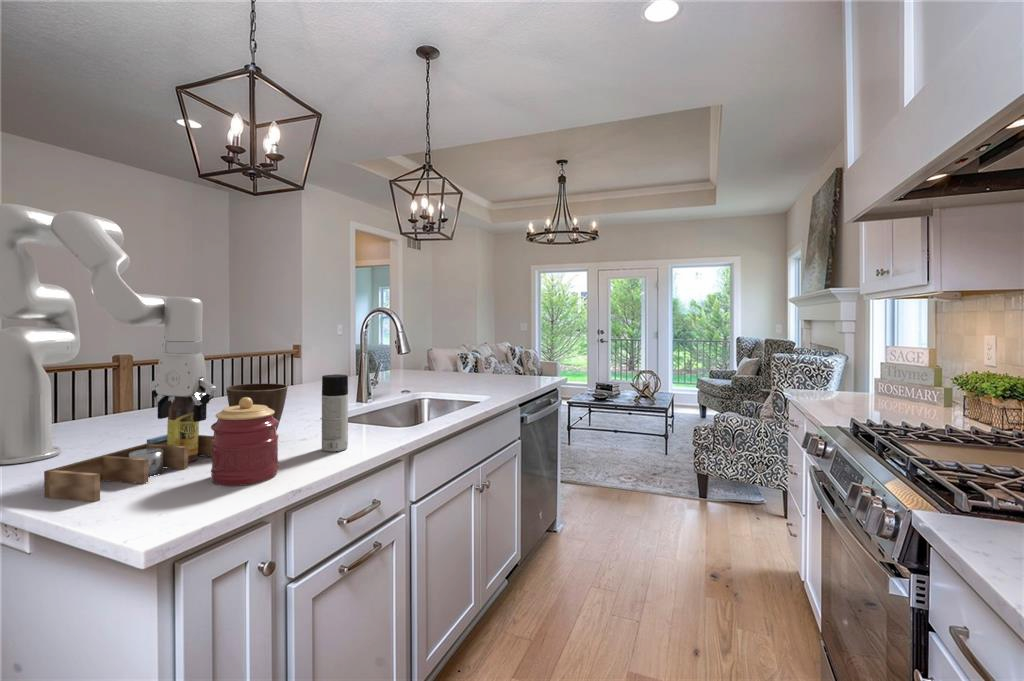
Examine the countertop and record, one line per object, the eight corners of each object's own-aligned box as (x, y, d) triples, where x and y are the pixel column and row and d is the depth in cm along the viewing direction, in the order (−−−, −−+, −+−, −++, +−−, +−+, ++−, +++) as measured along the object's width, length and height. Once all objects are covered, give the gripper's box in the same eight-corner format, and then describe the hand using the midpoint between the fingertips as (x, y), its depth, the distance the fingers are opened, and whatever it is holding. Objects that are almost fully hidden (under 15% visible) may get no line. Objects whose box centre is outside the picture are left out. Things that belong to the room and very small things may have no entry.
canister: (216, 471, 108) (216, 394, 107) (280, 465, 113) (280, 392, 112) (205, 490, 96) (205, 403, 95) (276, 483, 101) (277, 400, 100)
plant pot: (284, 435, 142) (284, 382, 141) (290, 447, 129) (290, 388, 128) (226, 440, 134) (226, 384, 133) (226, 454, 121) (226, 391, 120)
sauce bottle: (182, 466, 111) (181, 381, 110) (160, 463, 112) (159, 380, 111) (205, 458, 117) (205, 378, 116) (184, 456, 118) (183, 377, 117)
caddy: (43, 497, 90) (43, 467, 90) (180, 453, 121) (180, 430, 121) (94, 501, 88) (94, 471, 88) (220, 456, 119) (220, 433, 119)
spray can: (353, 448, 129) (353, 375, 128) (331, 454, 123) (332, 377, 122) (337, 444, 132) (337, 373, 132) (315, 449, 127) (316, 375, 126)
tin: (121, 477, 102) (121, 454, 102) (147, 469, 108) (146, 447, 108) (145, 479, 101) (145, 456, 101) (170, 471, 107) (169, 449, 107)
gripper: (137, 347, 111) (136, 419, 112) (202, 351, 108) (201, 425, 109) (165, 346, 118) (164, 413, 119) (227, 349, 116) (225, 418, 116)
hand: (182, 419), depth 114 cm, fingers open, 9 cm apart
